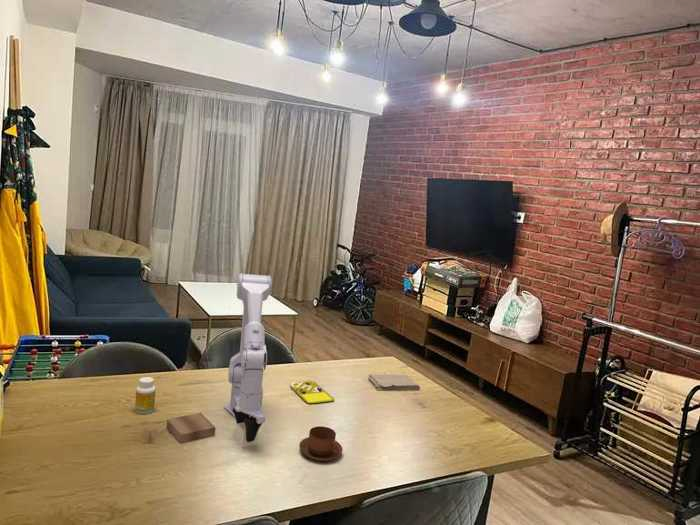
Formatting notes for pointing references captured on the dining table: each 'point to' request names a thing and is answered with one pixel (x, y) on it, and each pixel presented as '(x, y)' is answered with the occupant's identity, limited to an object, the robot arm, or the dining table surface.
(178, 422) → the walnut block
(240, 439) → the white block
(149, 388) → the supplement bottle
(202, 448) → the dining table surface
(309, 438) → the cup and saucer
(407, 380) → the washcloth
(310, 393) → the game console
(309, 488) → the dining table surface
